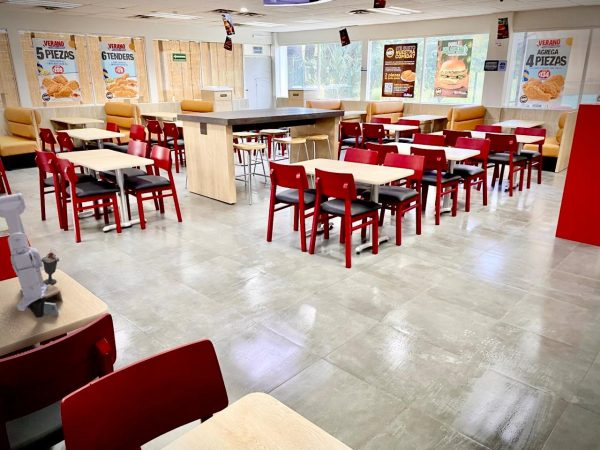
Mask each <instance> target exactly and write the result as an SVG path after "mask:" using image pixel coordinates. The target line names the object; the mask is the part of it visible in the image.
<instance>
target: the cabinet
mask: <svg viewBox="0 0 600 450" xmlns="http://www.w3.org/2000/svg"><path fill="white" fill-rule="evenodd" d="M48 285H49V288H50V290H48V291H46V292H45V293H44V294H45V297H46V300H45V302H47V303H55V304H56V305H57V306H58V305H59V304H61V303H63V302H64V300H63V297H62V293H61V290H60V289H58V288H57V287H55V286H53V284H48Z"/></svg>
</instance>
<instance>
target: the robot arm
mask: <svg viewBox="0 0 600 450" xmlns="http://www.w3.org/2000/svg"><path fill="white" fill-rule="evenodd" d="M26 207H27V206H26V204H25V198H24V196H23V193H21V192H18V193H12V194H7V195H3V196H0V218H3V219H4V220H5V223H6V226H7V227H8V230H9V233H10V235H9V236H8V237H7V242H8V246H9V249H10V254H11V256H10V261H11V262H10V263H11V264H12V268H13V270H14V273H15V275H16V276H17V278H18V282H19V285H20V288H19V290H20V291H21V292H22V294H23V297H22V299H21V300H20V302H19V303H18V304H17V305H16V308H17V311H23V312H24V311H25V310H26V308H27V309H29V310H30V311H31V312H32V314H33V315H34V317H35V318H36V319H42V318H43V317H45V314H44V304H45V300H46V297H45V294H44V293H45V292H46V291H48V290H50V288H49V284H45V283H44V278H43V274H42V272H41V271H42V270H41V268H42V267H44V265H43V262H42V261H41V259H42V257H41V254H40V252H39V250H38V248H36V247H31V246H30V244H29V240H28V237H27V235H26V233H25V228H24V226H23V222H22V218H21V215H22V214H23V213H24V212H25V210H26Z"/></svg>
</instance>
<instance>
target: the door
mask: <svg viewBox="0 0 600 450" xmlns="http://www.w3.org/2000/svg"><path fill="white" fill-rule="evenodd" d="M44 315H52V316H59V315H60V312H59V309H58V304H57V305H56V304H55V303H47V302H45V304H44Z"/></svg>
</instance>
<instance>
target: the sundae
mask: <svg viewBox="0 0 600 450" xmlns="http://www.w3.org/2000/svg"><path fill="white" fill-rule="evenodd" d="M41 261H42V265H43V269H44V270H43V271H44V272H45V273H46V274H47V275H48V277H47V279H45V280H44V279H43V281H44V284H45V285H49V284H51V285H53V284H56V283H57V280H56V279H55V278H53V277H52V276H53V274H55V273H56V270H57V263H58V262H60V258H59V257H57V255H56V253H54V252H52V250H50V252H49V253H47V254H46V256H44V257H41Z"/></svg>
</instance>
